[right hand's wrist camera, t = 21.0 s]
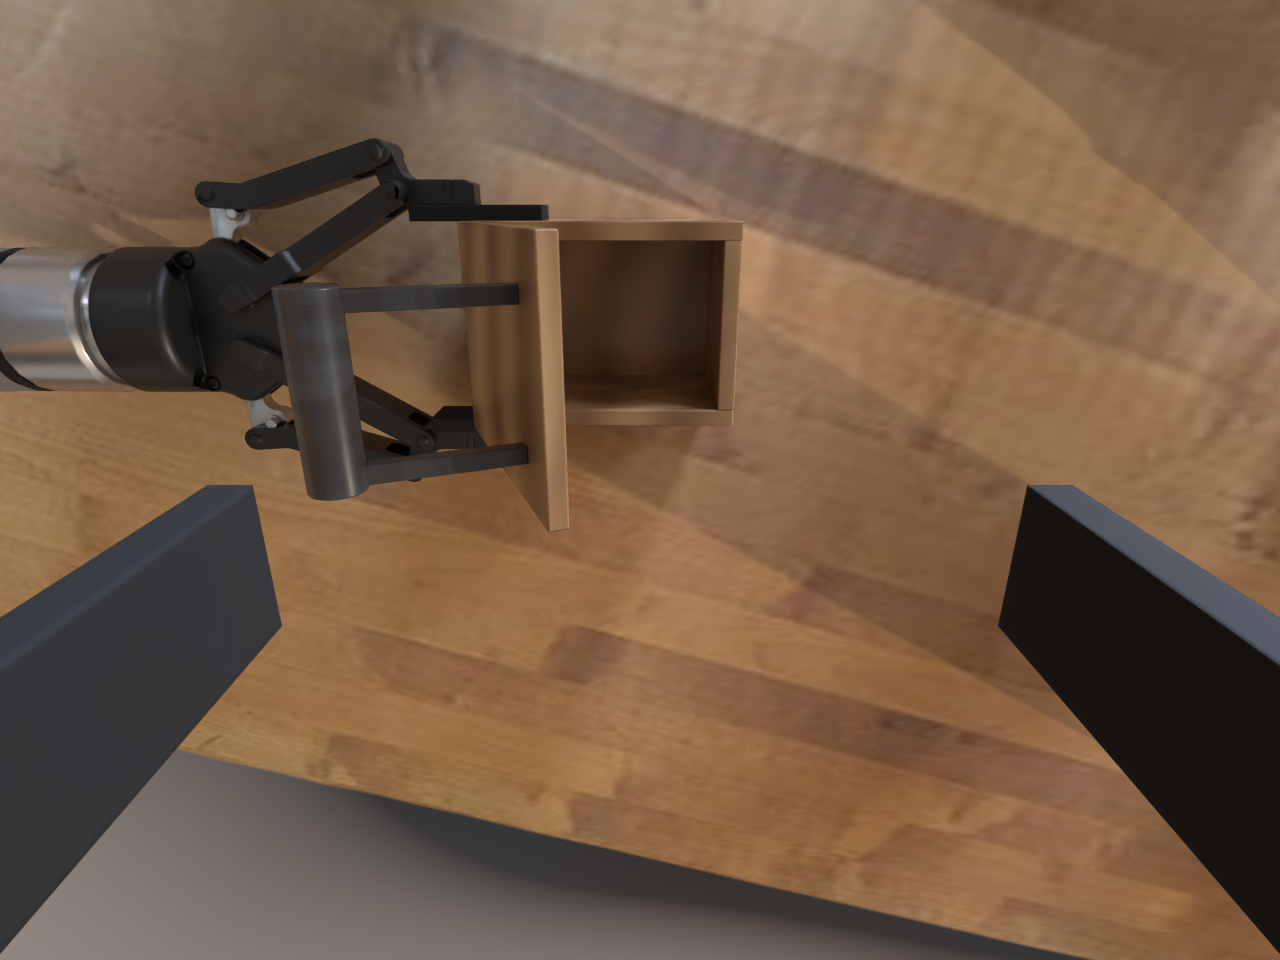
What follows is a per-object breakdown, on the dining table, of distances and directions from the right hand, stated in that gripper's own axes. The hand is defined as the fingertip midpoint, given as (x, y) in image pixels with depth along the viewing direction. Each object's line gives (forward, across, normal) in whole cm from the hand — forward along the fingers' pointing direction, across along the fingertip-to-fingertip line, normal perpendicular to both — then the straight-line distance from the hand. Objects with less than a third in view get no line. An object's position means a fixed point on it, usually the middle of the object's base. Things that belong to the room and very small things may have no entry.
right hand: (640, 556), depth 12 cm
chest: (+34, -2, 0) cm, 34 cm away
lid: (+18, -5, 0) cm, 19 cm away
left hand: (+27, -5, 0) cm, 28 cm away
